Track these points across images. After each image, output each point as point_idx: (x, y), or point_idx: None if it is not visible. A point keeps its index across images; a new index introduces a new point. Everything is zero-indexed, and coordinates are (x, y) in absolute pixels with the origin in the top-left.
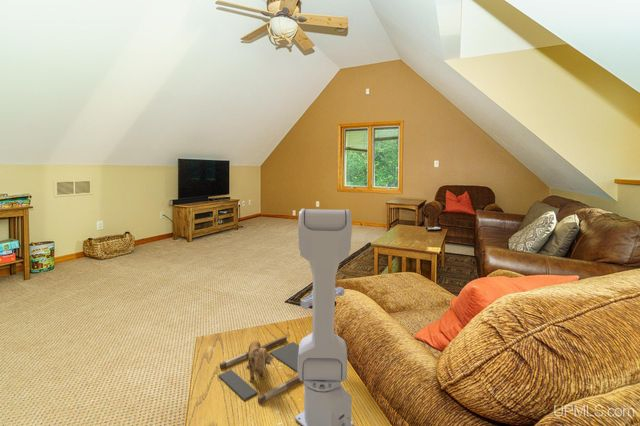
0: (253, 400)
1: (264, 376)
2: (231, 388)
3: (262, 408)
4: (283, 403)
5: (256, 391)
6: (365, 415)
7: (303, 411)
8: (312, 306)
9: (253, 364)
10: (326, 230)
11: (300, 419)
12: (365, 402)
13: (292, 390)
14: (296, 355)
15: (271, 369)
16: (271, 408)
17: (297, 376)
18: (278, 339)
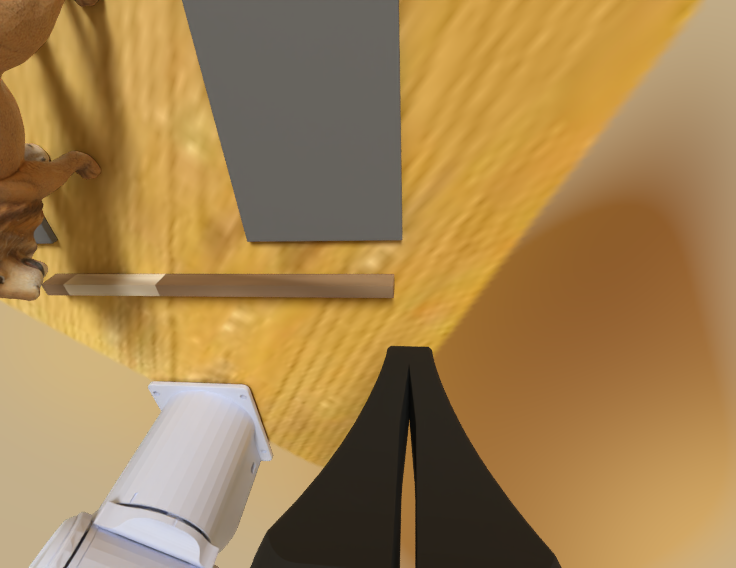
0: (41, 258)
1: (94, 175)
2: None
3: (69, 302)
4: (139, 324)
5: (48, 238)
6: (317, 455)
7: (176, 386)
8: (291, 514)
9: None
10: None
11: (158, 397)
12: None
13: (187, 301)
14: (312, 129)
15: (145, 137)
16: (98, 318)
17: (217, 288)
18: None
